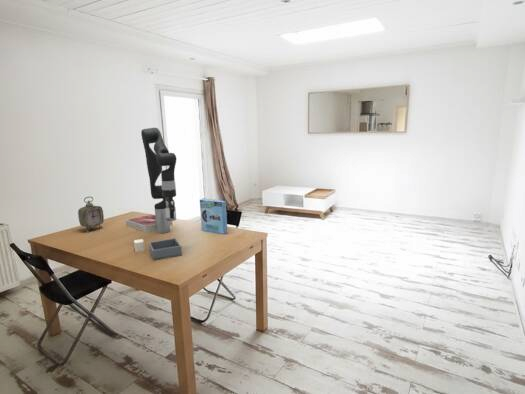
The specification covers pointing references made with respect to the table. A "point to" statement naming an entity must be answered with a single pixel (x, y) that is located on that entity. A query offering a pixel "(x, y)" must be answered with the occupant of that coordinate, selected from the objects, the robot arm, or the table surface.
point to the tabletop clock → (90, 215)
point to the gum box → (213, 215)
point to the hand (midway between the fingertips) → (171, 216)
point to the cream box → (139, 245)
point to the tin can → (169, 214)
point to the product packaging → (143, 223)
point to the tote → (165, 249)
